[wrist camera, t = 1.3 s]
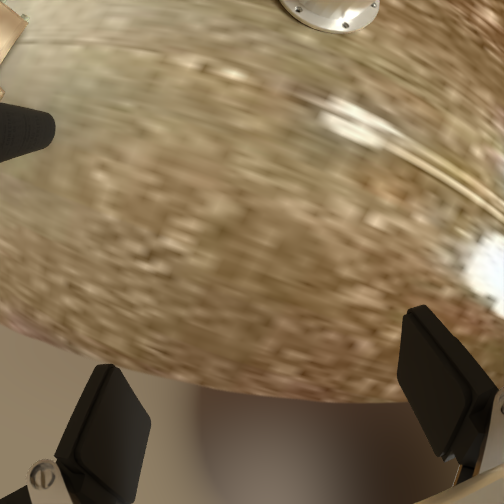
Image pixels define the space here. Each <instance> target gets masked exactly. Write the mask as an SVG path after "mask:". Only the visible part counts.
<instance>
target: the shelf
mask: <svg viewBox="0 0 504 504" xmlns="http://www.w3.org/2000/svg"><path fill="white" fill-rule="evenodd" d="M5 2H6V0H0V64H1V62H2V61H3V59H4V58H5V56H6V55H7V53H8V51H9V50H10V48H11V47H12V46H13V44H14V43H15V41H16V40H17V38H18V37H19V36H20V34H21V33H22V31H23V30H24V29H25V27H26V26H27V25H28V22H27V21H28V20H29V17H28V16H26V15H24V14H23V15H22V16H21V17H20V16H19V15H18V14H17V13H15V12H14V11H13V10H12V9H10V8H9V7H8V6H7V5H5V4H4V3H5ZM4 94H5V92H4V91H3V90H2V88H1V87H0V101H1V99H2V97H3V95H4Z"/></svg>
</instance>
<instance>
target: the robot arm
mask: <svg viewBox="0 0 504 504" xmlns="http://www.w3.org/2000/svg"><path fill="white" fill-rule="evenodd" d="M280 2H281V4H282V5H283V6H284V8H285V9H286V10H287V11H288V12H289V13H290V14H291V15H292V16H293V17H294V18H296V19H297V20H299V21H300V22H302V23H303V24H305V25H307V26H309V27H312V28H314V29H317V30H320V31H323V32H328V33H336V34H345V33H352V32H355V31H358V30H361V29H362V28H364V27H366V26H367V25H368V24H369V23H371V22H372V21H373V19H374V18H375V17H376V15H377V13H378V10H379V4H380V1H379V0H280ZM296 11H299V13H298V12H296ZM342 26H344V27H345V28H343V27H342ZM397 379H398V382H399V384H400V386H401V388H402V390H403V392H404V394H405V396H406V397H407V399H408V401H409V403H410V405H411V407H412V409H413V411H414V413H415V415H416V417H417V418H418V420H419V423H420V424H421V427H422V429H423V431H424V432H425V435H426V437H427V439H428V440H429V443H430V445H431V447H432V449H433V451H434V453H435V455H436V456H437V457H440V456H441V457H442V459H443V461H444V462H447V461H449V460H450V459H453V458H455V457H456V459H457V461H458V463H459V464H460V466H459V468H458V472H457V475H456V477H455V480H454V484H453V486H452V488H450V489H448V490H445V491H443V492H441V493H439V494H436V495H435V496H432V497H429V498H427V499H425V500H423V501H420V502H417V503H415V504H504V387H503V388H501V389H500V390H499V389H498V388H497V387H496V385H495V384H494V383H493V382H492V380H491V379H490V378H489V376H488V375H487V374H486V373H485V371H484V370H483V369H482V368H481V366H480V365H479V364H478V363H477V361H476V360H475V359H474V358H473V357H472V355H471V354H470V353H469V352H468V351H467V349H466V348H465V347H464V346H463V345H462V343H461V342H460V341H459V340H458V339H457V338H456V337H454V336H453V335H452V334H451V333H450V332H449V330H448V329H447V328H446V327H445V326H444V325H443V324H442V322H441V321H440V320H439V319H438V318H437V317H436V316H435V315H434V313H433V312H432V311H431V310H430V309H429V308H428V307H427V306H426V305H420V306H417V307H414V308H411V309H408V311H407V314H406V315H404V316H403V321H402V333H401V344H400V353H399V362H398V369H397ZM150 428H151V420H150V417H149V415H148V414H147V413H146V411H145V409H144V408H143V406H142V405H141V403H140V401H139V400H138V398H137V397H136V395H135V394H134V392H133V390H132V389H131V387H130V385H129V384H128V382H127V380H126V379H125V377H124V375H123V374H122V372H121V370H120V369H119V368H116V367H115V365H113V364H100V365H97V366H96V367H95V369H94V371H93V373H92V375H91V376H90V379H89V381H88V383H87V384H86V387H85V388H84V391H83V393H82V395H81V397H80V399H79V401H78V403H77V405H76V408H75V409H74V412H73V414H72V416H71V418H70V420H69V422H68V425H67V428H66V429H65V432H64V434H63V436H62V438H61V441H60V443H59V445H58V448H57V450H56V453H55V455H54V456H55V457H56V458H57V461H56V463H55V462H54V461H53V460H50V459H42V460H39V461H37V462H35V463H34V464H33V465H32V466H31V467H30V469H29V471H28V472H27V477H26V482H27V485H26V486H24V487H22V488H20V489H19V490H17V491H15V492H13V493H11V494H9V495H7V496H6V497H4V498H2V499H0V504H131V503H133V502H134V501H135V496H136V492H137V487H138V481H139V477H140V472H141V468H142V463H143V459H144V454H145V449H146V445H147V441H148V436H149V432H150Z"/></svg>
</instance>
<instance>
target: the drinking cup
mask: <svg viewBox="0 0 504 504" xmlns="http://www.w3.org/2000/svg"><path fill="white" fill-rule="evenodd" d="M54 135H55V122H54V119H53V117H52V116H51V115H50V114H49V113H46V112H42V111H38V110H33V109H29V108H24V107H20V106H15V105H10V104H5V103H0V163H1V162H4V161H6V160H9V159H12V158H15V157H18V156H21V155H24V154H28V153H31V152H34V151H37V150H41V149H44V148H46V147H47V146H48V145H49V144H50V143H51V141H52V140H53V138H54Z"/></svg>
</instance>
